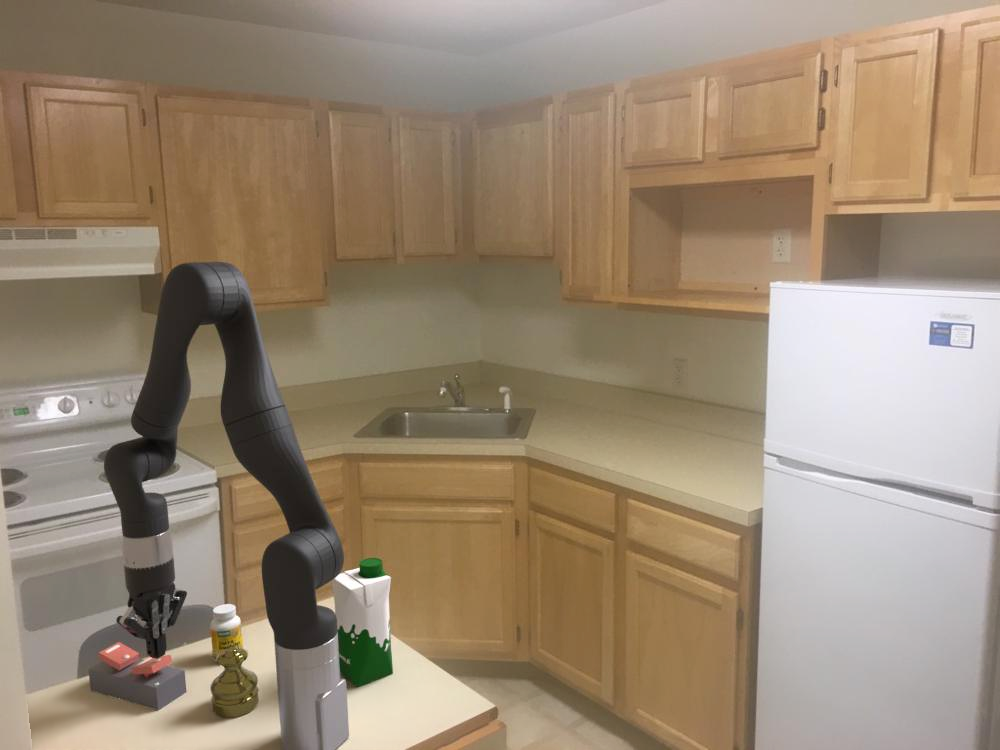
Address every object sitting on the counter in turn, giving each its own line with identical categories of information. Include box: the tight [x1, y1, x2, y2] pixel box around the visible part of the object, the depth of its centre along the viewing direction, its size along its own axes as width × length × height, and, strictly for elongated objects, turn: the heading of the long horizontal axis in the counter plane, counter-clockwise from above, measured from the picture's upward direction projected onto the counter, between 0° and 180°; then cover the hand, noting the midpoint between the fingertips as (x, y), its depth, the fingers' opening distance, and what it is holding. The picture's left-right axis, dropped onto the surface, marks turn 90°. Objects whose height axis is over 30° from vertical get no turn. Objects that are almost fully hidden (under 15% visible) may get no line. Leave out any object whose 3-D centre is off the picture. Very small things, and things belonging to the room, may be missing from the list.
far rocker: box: [98, 641, 140, 670], centre depth 136 cm, size 5×4×2 cm
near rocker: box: [131, 654, 173, 677], centre depth 133 cm, size 5×4×2 cm
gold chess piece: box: [210, 647, 260, 718], centre depth 130 cm, size 7×7×10 cm
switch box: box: [87, 657, 188, 711], centre depth 135 cm, size 16×6×4 cm, turn 65°
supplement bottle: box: [209, 603, 244, 663], centre depth 146 cm, size 5×5×10 cm
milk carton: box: [331, 557, 394, 688], centre depth 138 cm, size 9×9×20 cm
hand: (157, 655), depth 132 cm, fingers closed
